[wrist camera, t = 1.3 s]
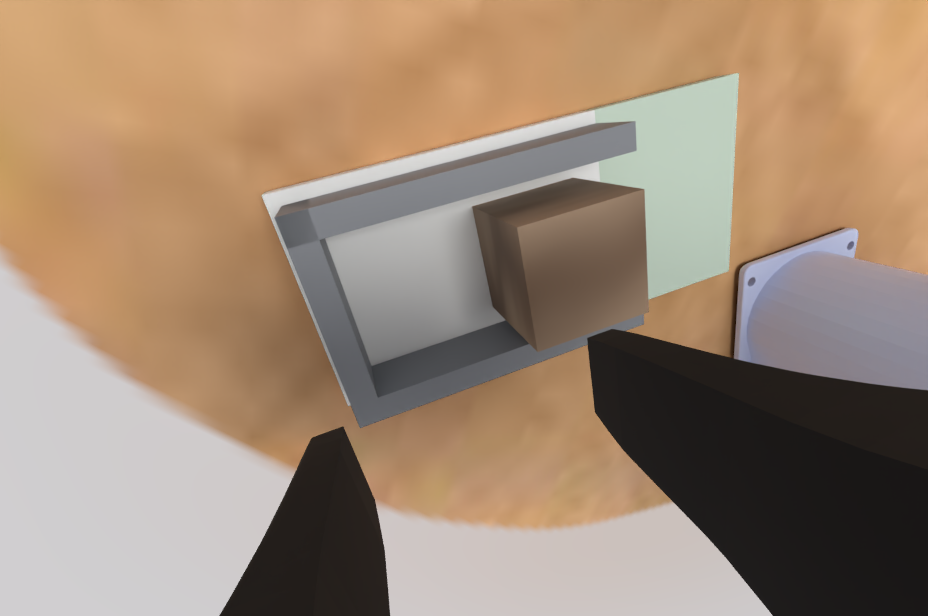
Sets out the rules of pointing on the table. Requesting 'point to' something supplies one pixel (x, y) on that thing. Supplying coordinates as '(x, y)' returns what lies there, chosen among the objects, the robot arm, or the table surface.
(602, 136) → the bay board
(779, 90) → the table surface
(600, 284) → the walnut cube
